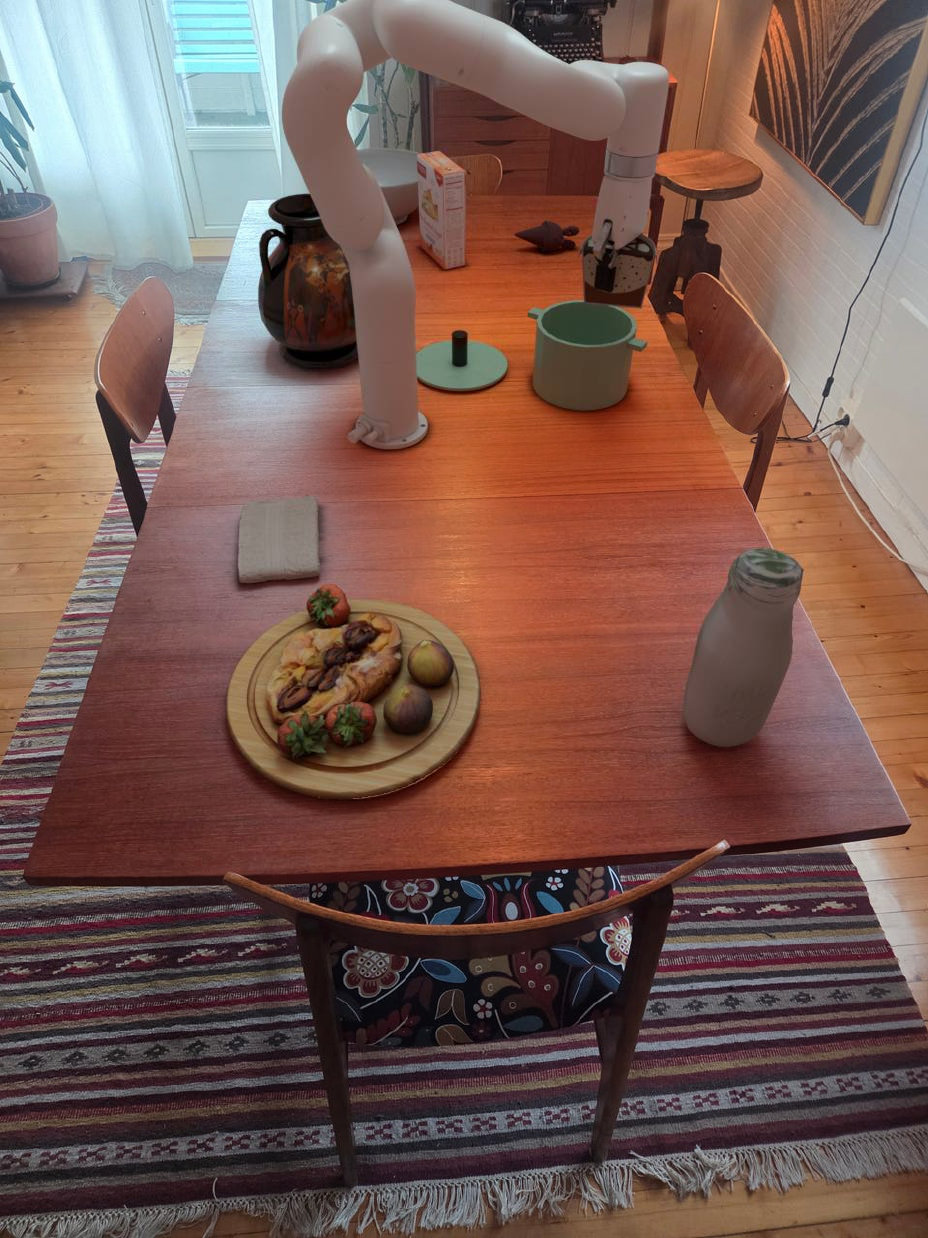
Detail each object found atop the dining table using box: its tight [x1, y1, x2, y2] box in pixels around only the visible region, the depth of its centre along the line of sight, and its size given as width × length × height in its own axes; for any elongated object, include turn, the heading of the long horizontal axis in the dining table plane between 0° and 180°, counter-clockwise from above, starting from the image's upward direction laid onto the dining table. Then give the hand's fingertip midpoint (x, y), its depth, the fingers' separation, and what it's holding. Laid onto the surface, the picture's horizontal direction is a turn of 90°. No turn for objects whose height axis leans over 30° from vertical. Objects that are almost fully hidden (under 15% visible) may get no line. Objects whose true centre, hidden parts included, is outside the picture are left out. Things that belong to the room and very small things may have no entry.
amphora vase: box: [257, 193, 358, 371], centre depth 164 cm, size 22×22×28 cm
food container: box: [577, 233, 658, 309], centre depth 141 cm, size 12×6×10 cm, turn 77°
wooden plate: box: [225, 583, 482, 801], centre depth 109 cm, size 32×32×8 cm
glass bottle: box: [682, 547, 805, 748], centre depth 99 cm, size 10×10×28 cm
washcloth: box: [237, 495, 322, 584], centre depth 132 cm, size 12×18×3 cm, turn 9°
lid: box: [416, 329, 509, 392], centre depth 167 cm, size 18×18×7 cm
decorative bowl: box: [357, 147, 421, 226], centre depth 217 cm, size 27×27×12 cm
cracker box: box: [417, 150, 467, 271], centre depth 198 cm, size 14×6×21 cm, turn 25°
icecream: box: [514, 220, 580, 254], centre depth 206 cm, size 7×7×15 cm
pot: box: [527, 299, 648, 411], centre depth 161 cm, size 18×23×12 cm
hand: (614, 280), depth 142 cm, fingers closed on food container, 6 cm apart
